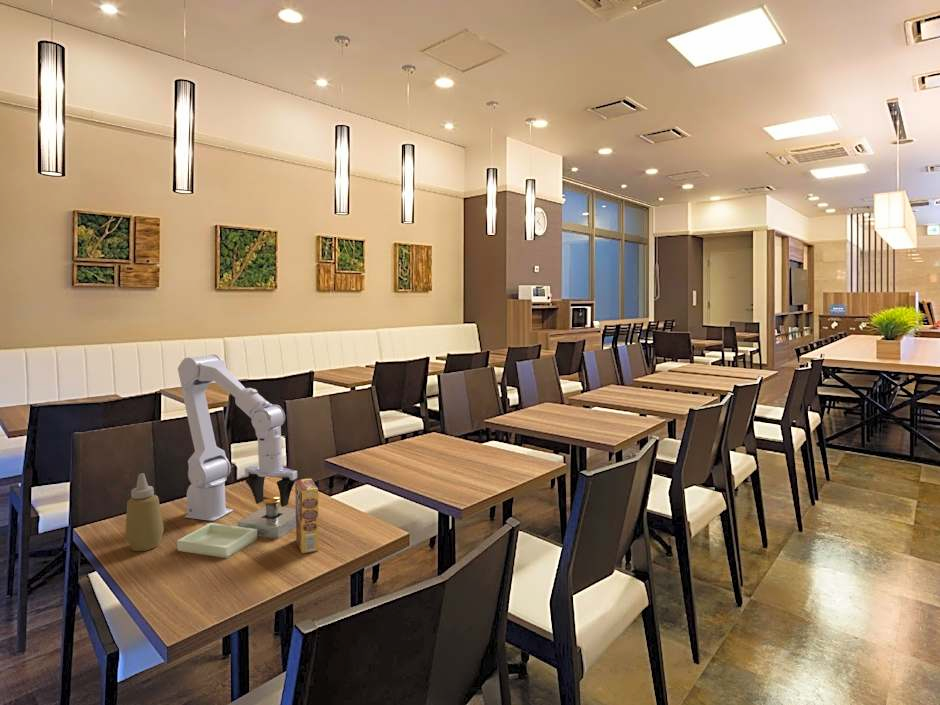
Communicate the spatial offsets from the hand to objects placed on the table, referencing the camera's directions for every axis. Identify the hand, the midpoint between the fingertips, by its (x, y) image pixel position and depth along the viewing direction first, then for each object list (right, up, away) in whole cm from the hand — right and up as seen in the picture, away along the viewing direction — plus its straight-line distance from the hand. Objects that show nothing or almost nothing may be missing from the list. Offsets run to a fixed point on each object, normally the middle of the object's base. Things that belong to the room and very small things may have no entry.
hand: (272, 503), depth 148 cm
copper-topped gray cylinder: (0, -6, +1) cm, 6 cm away
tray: (-10, -7, -10) cm, 16 cm away
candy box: (+12, -8, -10) cm, 18 cm away
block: (0, -6, +1) cm, 6 cm away
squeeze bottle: (-27, -8, -11) cm, 30 cm away
